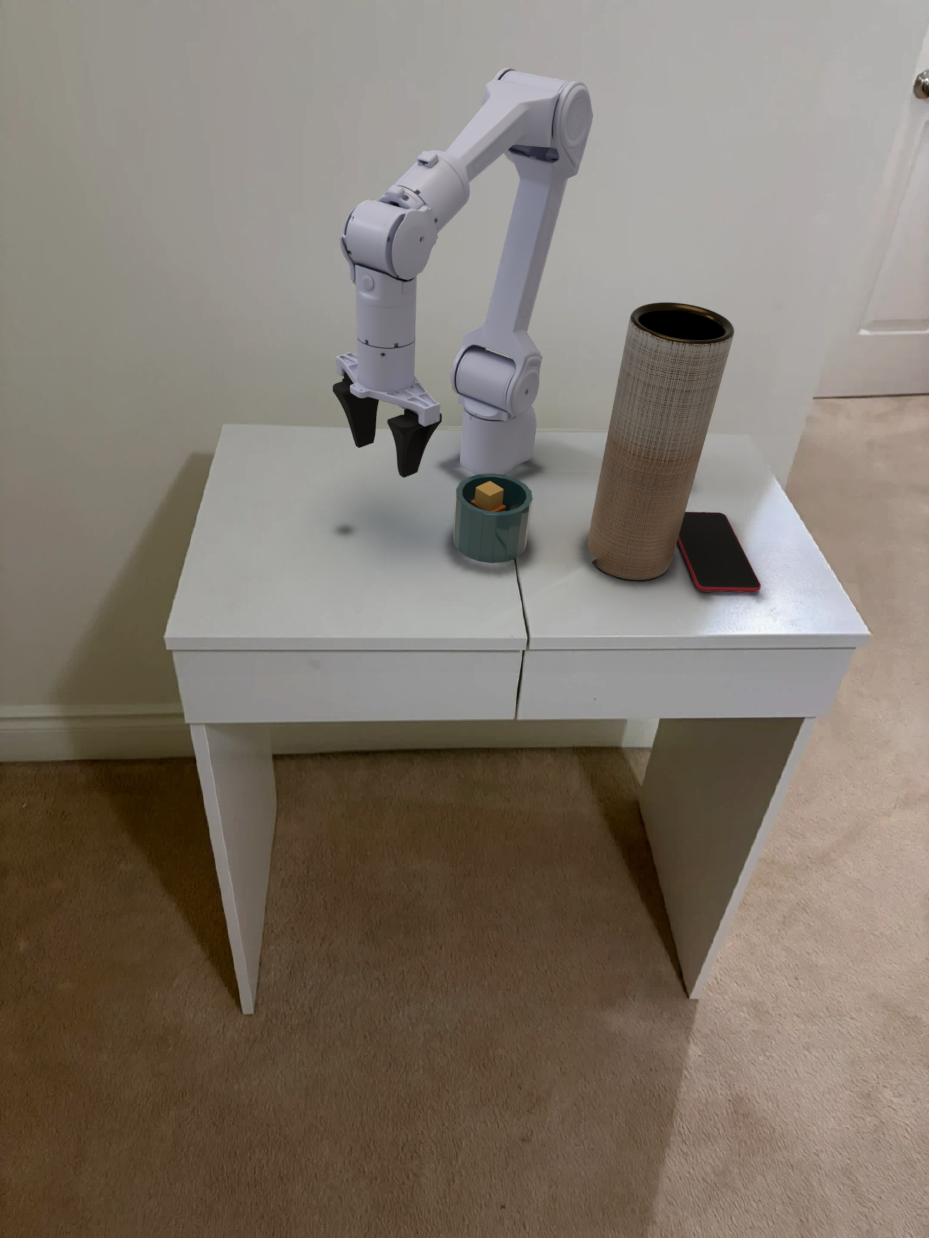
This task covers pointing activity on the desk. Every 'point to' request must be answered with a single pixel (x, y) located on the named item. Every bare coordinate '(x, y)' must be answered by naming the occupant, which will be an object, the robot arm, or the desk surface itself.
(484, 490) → the tan orange collared block
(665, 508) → the vase
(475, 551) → the cup
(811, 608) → the desk surface
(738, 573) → the smartphone
